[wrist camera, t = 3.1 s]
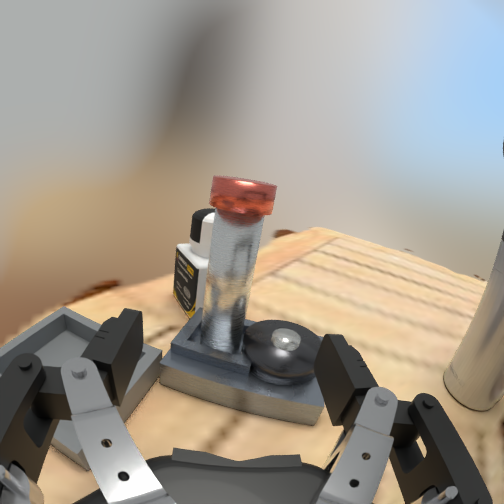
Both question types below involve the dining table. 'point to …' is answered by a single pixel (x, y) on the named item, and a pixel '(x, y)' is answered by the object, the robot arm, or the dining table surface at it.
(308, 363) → the tensioner block
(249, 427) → the dining table surface
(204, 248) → the medicine bottle
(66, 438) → the tray
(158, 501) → the robot arm
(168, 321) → the dining table surface
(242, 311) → the pin
